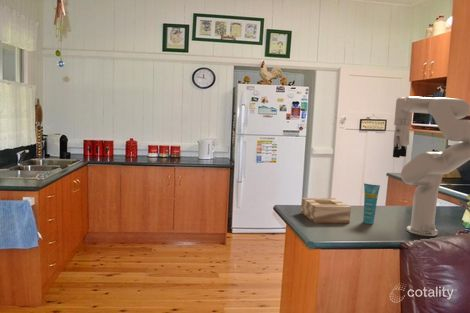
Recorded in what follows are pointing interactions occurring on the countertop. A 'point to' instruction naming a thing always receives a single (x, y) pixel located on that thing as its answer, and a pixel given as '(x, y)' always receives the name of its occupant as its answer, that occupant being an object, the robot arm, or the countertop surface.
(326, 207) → the socket block
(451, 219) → the countertop surface
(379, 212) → the countertop surface
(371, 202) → the tube
